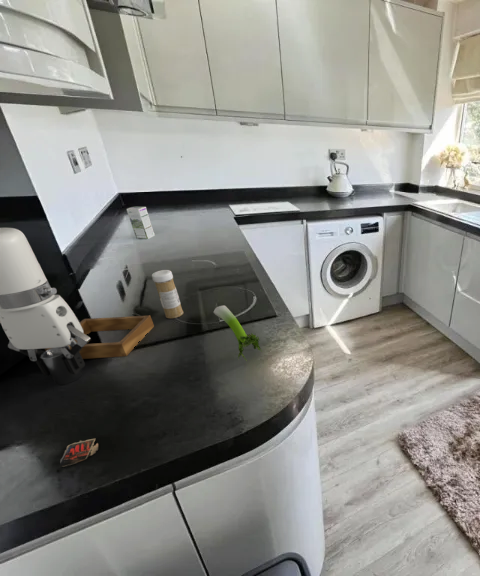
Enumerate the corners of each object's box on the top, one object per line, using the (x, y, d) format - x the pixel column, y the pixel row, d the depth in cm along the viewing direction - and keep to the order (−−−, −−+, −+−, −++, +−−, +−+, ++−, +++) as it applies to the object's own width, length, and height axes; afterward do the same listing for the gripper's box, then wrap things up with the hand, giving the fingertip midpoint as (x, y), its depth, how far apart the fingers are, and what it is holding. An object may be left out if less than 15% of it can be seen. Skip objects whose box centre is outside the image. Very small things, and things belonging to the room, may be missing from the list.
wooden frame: (51, 361, 74) (44, 348, 73) (89, 329, 86) (84, 318, 84) (126, 356, 76) (121, 344, 75) (154, 326, 88) (150, 315, 86)
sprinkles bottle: (169, 311, 95) (156, 269, 89) (186, 310, 95) (174, 268, 90) (162, 320, 91) (147, 276, 85) (180, 318, 91) (166, 275, 85)
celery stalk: (234, 314, 97) (271, 357, 76) (210, 324, 94) (242, 373, 72) (227, 296, 95) (263, 336, 73) (202, 306, 91) (232, 351, 69)
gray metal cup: (50, 386, 67) (34, 359, 64) (65, 371, 71) (51, 346, 68) (73, 384, 68) (59, 357, 65) (87, 370, 72) (74, 344, 69)
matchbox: (59, 471, 51) (58, 469, 50) (63, 447, 54) (62, 445, 54) (97, 455, 53) (96, 453, 53) (99, 434, 57) (98, 432, 57)
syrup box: (155, 235, 160) (146, 206, 154) (148, 239, 155) (138, 208, 148) (143, 235, 160) (134, 206, 154) (135, 239, 155) (125, 208, 148)
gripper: (87, 284, 65) (119, 356, 73) (-8, 288, 63) (35, 362, 71) (59, 302, 58) (97, 379, 66) (-49, 307, 56) (4, 386, 64)
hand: (65, 370), depth 69 cm, fingers closed on gray metal cup, 4 cm apart
